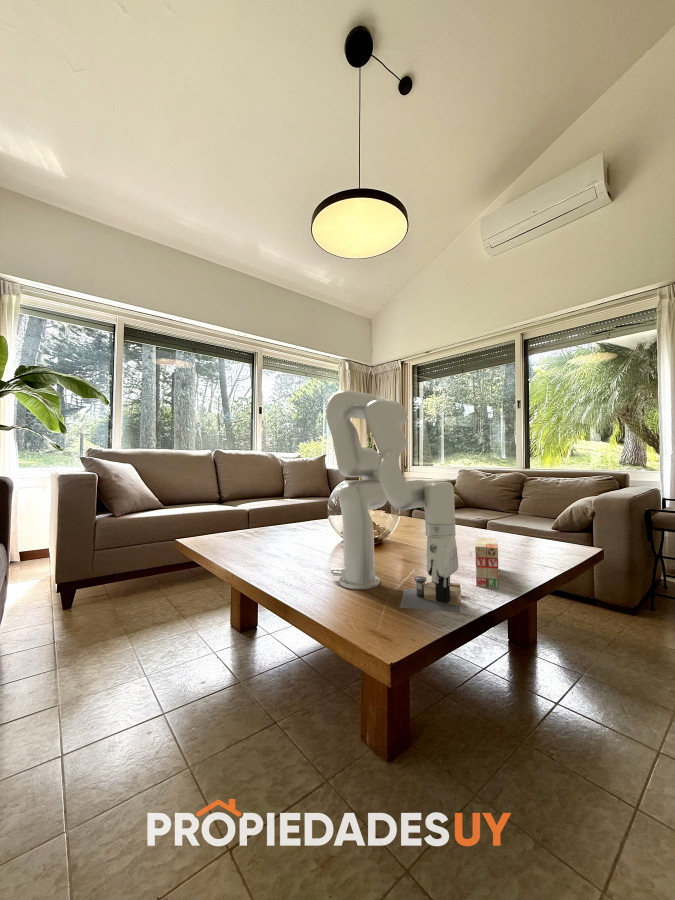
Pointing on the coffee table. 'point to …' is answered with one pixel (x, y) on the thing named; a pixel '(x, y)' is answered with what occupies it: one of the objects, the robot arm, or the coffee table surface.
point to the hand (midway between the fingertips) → (443, 601)
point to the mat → (424, 603)
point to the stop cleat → (454, 585)
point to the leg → (431, 594)
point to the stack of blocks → (487, 562)
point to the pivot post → (420, 586)
